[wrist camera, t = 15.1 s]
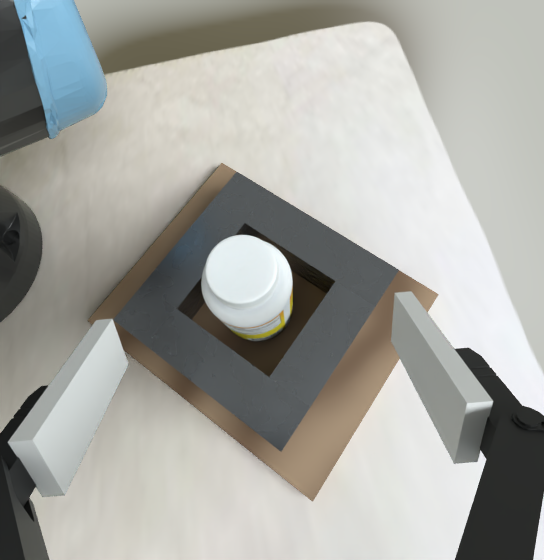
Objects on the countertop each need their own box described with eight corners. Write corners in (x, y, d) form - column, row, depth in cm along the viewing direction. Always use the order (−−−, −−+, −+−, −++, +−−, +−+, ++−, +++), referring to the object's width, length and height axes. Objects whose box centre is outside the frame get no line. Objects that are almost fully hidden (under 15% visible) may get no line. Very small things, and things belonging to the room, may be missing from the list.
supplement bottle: (251, 263, 30) (231, 202, 21) (306, 300, 29) (313, 254, 19) (209, 316, 29) (168, 279, 19) (265, 357, 28) (251, 340, 18)
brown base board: (93, 322, 31) (87, 320, 30) (223, 169, 34) (221, 162, 34) (311, 497, 26) (312, 501, 25) (433, 297, 30) (438, 294, 29)
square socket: (136, 329, 29) (112, 319, 25) (243, 197, 32) (236, 171, 28) (282, 443, 26) (281, 451, 22) (384, 286, 29) (399, 270, 25)
